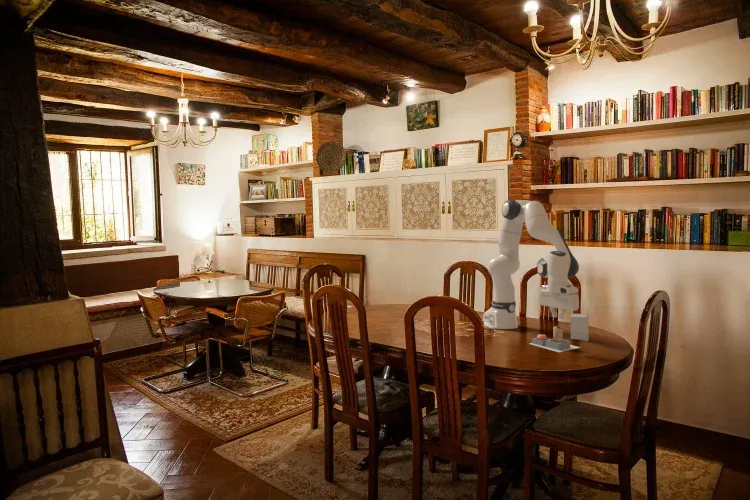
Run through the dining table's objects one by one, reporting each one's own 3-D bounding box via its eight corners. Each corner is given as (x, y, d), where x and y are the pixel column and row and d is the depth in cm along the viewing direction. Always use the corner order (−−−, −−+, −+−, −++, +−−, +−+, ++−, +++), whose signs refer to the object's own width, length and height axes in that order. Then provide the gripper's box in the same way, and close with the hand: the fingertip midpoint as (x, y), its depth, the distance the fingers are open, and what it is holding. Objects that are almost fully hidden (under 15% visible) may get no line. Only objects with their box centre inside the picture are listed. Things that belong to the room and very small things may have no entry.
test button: (535, 340, 245) (535, 335, 244) (541, 338, 247) (541, 333, 246) (542, 341, 241) (542, 336, 241) (548, 340, 243) (548, 335, 243)
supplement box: (588, 339, 254) (589, 314, 253) (586, 343, 248) (586, 317, 247) (572, 338, 258) (573, 313, 257) (570, 341, 252) (570, 315, 251)
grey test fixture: (528, 346, 245) (528, 337, 244) (549, 342, 251) (549, 333, 251) (559, 355, 229) (559, 345, 229) (580, 350, 236) (580, 340, 235)
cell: (551, 346, 238) (551, 326, 237) (557, 345, 240) (557, 324, 239) (558, 348, 234) (558, 327, 233) (564, 347, 236) (564, 326, 235)
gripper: (535, 285, 242) (535, 314, 243) (571, 290, 225) (571, 322, 226) (545, 284, 245) (545, 313, 246) (581, 289, 228) (581, 320, 229)
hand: (557, 317), depth 236 cm, fingers open, 2 cm apart
